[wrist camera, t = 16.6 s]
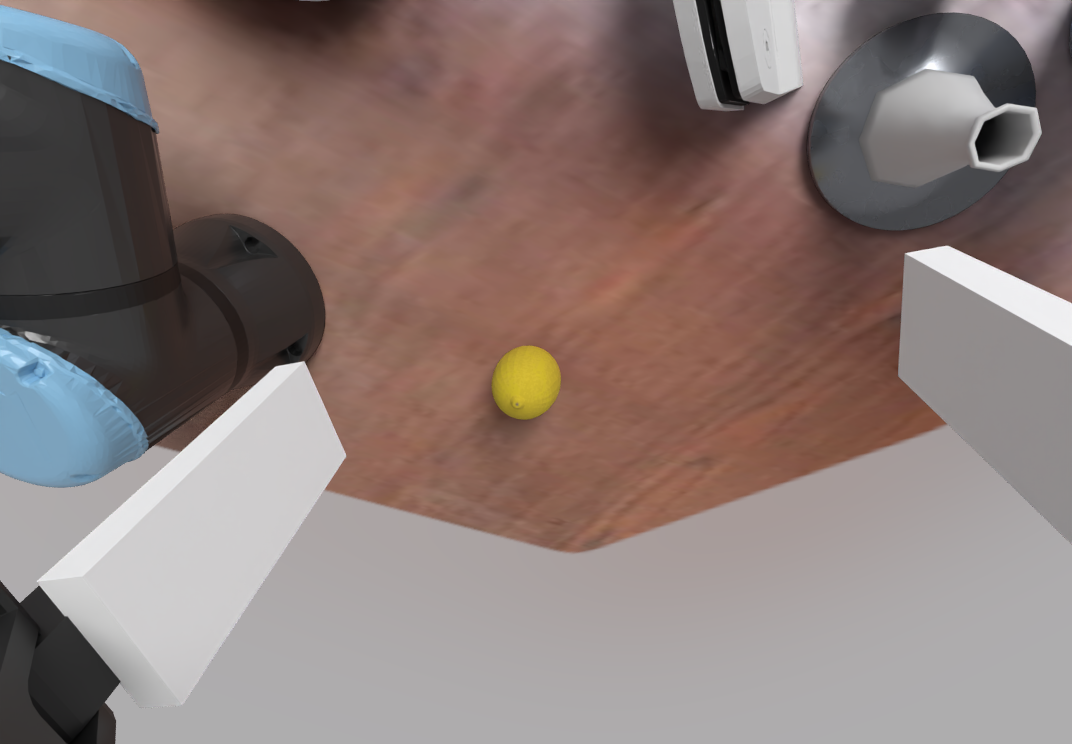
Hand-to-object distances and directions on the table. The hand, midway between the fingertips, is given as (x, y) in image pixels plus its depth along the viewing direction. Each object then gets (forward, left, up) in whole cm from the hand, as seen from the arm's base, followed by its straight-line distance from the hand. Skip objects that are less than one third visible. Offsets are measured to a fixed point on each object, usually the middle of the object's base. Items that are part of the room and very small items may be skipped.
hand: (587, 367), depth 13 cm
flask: (+19, 0, -33) cm, 38 cm away
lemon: (-10, -13, -34) cm, 37 cm away
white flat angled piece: (+8, +12, -34) cm, 37 cm away
